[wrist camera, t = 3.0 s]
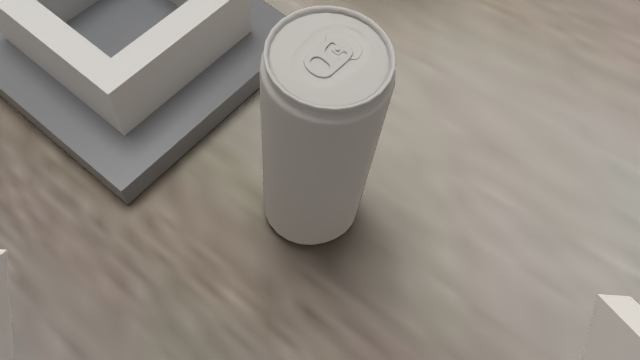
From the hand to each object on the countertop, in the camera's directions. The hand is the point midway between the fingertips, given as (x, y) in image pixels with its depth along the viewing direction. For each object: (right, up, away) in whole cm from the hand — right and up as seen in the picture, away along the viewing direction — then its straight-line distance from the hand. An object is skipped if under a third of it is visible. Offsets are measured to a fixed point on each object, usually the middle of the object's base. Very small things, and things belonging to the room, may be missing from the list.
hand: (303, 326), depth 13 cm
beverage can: (0, +2, +18) cm, 18 cm away
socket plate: (-10, +11, +21) cm, 26 cm away
